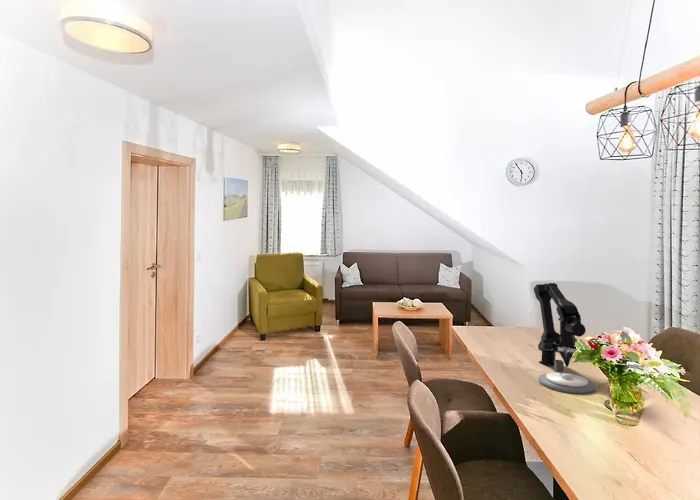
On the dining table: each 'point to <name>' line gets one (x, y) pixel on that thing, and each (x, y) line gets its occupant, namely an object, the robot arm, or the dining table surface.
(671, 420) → the dining table surface
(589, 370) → the dining table surface
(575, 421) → the dining table surface
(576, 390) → the dial base
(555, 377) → the dial
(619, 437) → the dining table surface
